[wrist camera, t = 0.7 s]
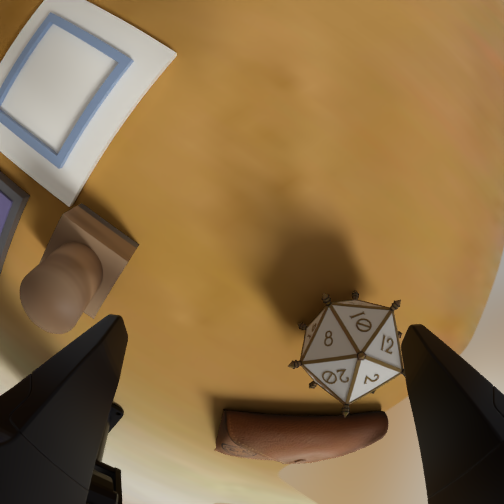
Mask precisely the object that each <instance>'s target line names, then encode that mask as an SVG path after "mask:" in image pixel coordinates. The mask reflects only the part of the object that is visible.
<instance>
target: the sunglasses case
mask: <svg viewBox="0 0 504 504" xmlns="http://www.w3.org/2000/svg"><path fill="white" fill-rule="evenodd" d="M387 430H388V418H387V415H386V414H385V412H383V411H374V412H365V413H356V414H352V415H350V414H347V416H346V417H344V415H339V416H292V415H274V414H258V413H247V412H238V411H226V410H224V412H223V415H222V420H221V424H220V428H219V432H218V436H217V440H216V449H215V451H218V452H221V453H223V454H227V455H230V456H236V457H243V458H251V459H261V460H274V461H278V462H281V463H283V464H291V463H312V462H317V461H321V460H326V459H331V458H336V457H340V456H343V455H346V454H349V453H352V452H355V451H357V450H360V449H362V448H365V447H366V446H369V445H371V444H372V443H374V442H376V441H378V440H380V439H381V438H383V437H384V435H385V434H386V433H387Z"/></svg>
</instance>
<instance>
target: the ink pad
mask: <svg viewBox="0 0 504 504" xmlns="http://www.w3.org/2000/svg"><path fill="white" fill-rule="evenodd" d="M28 199H29V195H28V194H27V193H26V192H24V191H23V190H22V189H21V188H20V187H18V186H17V185H16V184H15V183H14V182H13V181H11V180H10V179H9V178H8V177H7V176H6V175H4V174H3V173H2V172H1V171H0V274H1V270H2V267H3V264H4V261H5V258H6V255H7V252H8V249H9V246H10V243H11V241H12V238H13V235H14V233H15V230H16V227H17V225H18V222H19V220H20V217H21V215H22V213H23V210H24V208H25V206H26V203H27V201H28Z"/></svg>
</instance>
